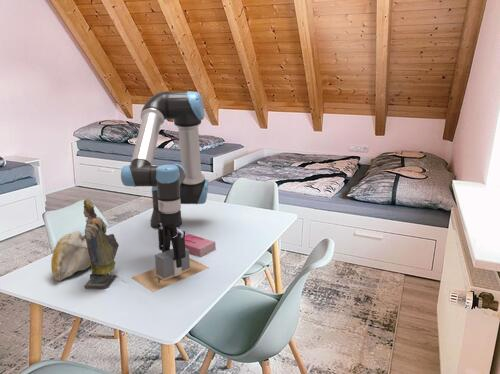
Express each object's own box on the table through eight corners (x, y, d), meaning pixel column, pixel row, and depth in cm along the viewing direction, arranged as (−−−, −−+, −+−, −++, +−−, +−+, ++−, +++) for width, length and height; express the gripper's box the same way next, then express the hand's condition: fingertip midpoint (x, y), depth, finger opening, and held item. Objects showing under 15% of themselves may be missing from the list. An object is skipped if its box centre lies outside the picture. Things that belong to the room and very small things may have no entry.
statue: (95, 269, 146) (86, 191, 138) (123, 269, 145) (116, 191, 138) (76, 290, 131) (65, 204, 123) (108, 290, 131) (99, 204, 123)
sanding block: (181, 265, 146) (180, 245, 144) (189, 269, 143) (189, 249, 141) (156, 275, 138) (154, 254, 136) (164, 280, 135) (163, 259, 133)
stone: (122, 257, 154) (70, 271, 131) (99, 272, 159) (44, 288, 136) (107, 223, 156) (53, 231, 133) (84, 238, 161) (29, 249, 138)
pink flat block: (180, 231, 171) (215, 241, 160) (181, 241, 172) (215, 252, 161) (164, 237, 164) (200, 249, 153) (165, 248, 165) (200, 260, 154)
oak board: (186, 258, 154) (186, 256, 154) (209, 270, 145) (209, 267, 145) (131, 280, 138) (130, 277, 137) (153, 294, 128) (153, 291, 128)
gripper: (145, 207, 138) (149, 267, 144) (176, 219, 126) (179, 284, 132) (163, 202, 143) (167, 261, 149) (195, 213, 131) (197, 277, 137)
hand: (173, 272), depth 140 cm, fingers closed on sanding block, 5 cm apart
